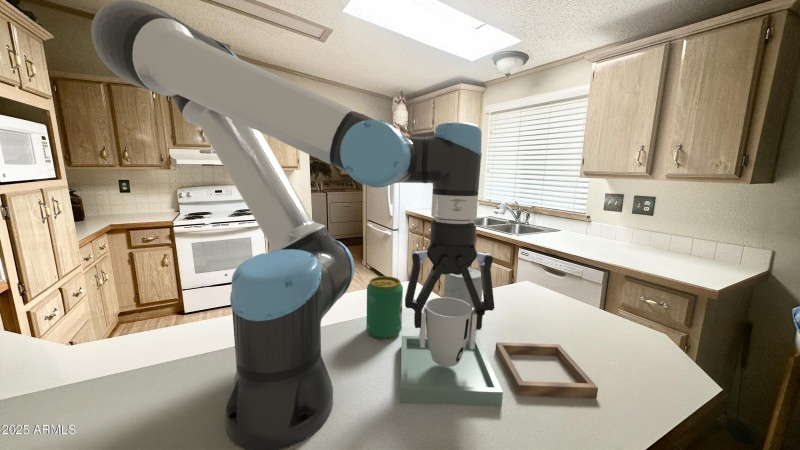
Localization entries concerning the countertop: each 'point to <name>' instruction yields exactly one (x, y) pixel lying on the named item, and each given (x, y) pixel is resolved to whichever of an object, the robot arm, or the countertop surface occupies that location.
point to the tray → (447, 377)
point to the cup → (447, 329)
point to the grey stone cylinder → (462, 286)
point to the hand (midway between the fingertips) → (446, 344)
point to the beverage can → (384, 307)
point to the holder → (545, 389)
